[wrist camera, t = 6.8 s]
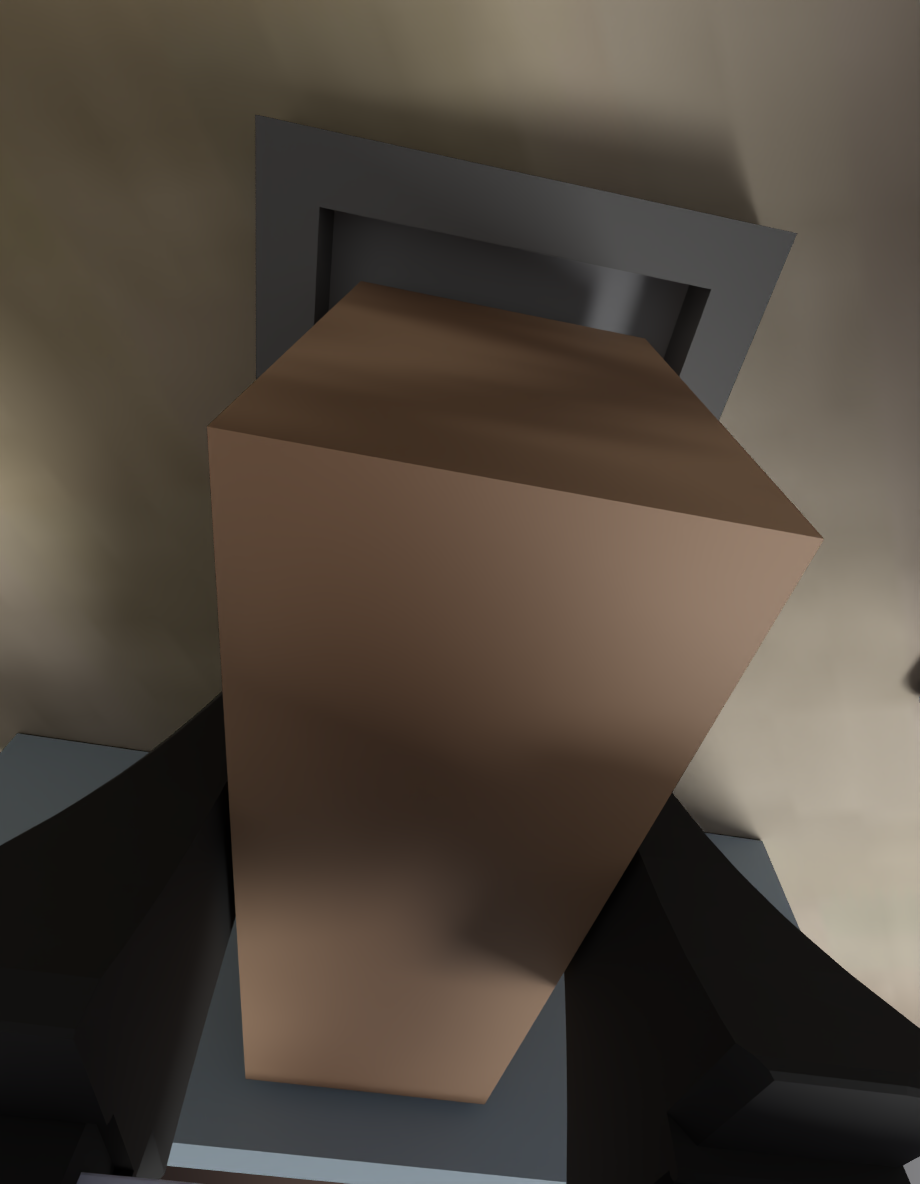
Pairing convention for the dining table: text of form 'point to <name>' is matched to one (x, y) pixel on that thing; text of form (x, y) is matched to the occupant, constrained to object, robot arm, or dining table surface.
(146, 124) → the dining table surface
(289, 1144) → the wall board
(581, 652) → the brown wooden block
